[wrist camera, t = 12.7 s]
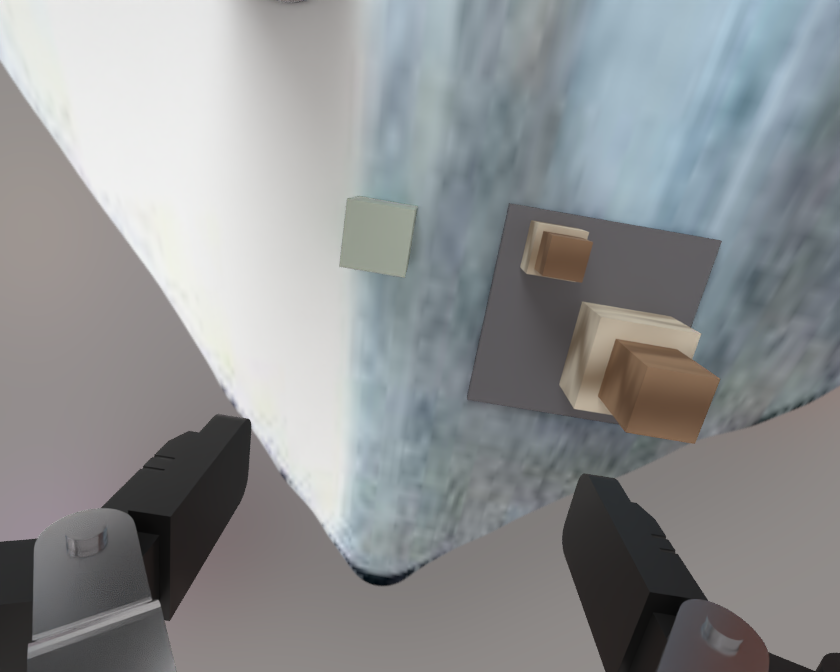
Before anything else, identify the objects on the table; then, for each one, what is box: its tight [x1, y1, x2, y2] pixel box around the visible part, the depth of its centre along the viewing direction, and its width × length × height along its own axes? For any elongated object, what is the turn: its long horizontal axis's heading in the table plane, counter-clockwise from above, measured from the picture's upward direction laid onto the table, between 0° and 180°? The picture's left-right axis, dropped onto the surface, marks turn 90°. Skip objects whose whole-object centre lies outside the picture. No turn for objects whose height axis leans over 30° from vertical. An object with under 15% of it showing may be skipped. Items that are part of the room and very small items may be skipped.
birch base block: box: [559, 302, 701, 415], centre depth 41 cm, size 8×8×5 cm
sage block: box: [339, 196, 418, 278], centre depth 39 cm, size 5×5×6 cm
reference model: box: [520, 220, 593, 283], centre depth 38 cm, size 4×4×6 cm
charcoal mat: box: [467, 203, 722, 424], centre depth 43 cm, size 18×18×1 cm
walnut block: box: [598, 339, 720, 444], centre depth 36 cm, size 5×5×6 cm
